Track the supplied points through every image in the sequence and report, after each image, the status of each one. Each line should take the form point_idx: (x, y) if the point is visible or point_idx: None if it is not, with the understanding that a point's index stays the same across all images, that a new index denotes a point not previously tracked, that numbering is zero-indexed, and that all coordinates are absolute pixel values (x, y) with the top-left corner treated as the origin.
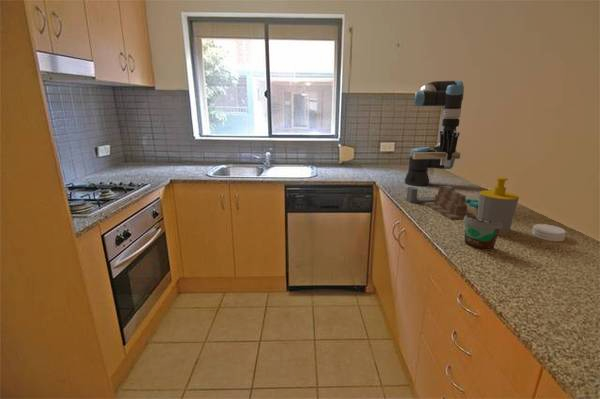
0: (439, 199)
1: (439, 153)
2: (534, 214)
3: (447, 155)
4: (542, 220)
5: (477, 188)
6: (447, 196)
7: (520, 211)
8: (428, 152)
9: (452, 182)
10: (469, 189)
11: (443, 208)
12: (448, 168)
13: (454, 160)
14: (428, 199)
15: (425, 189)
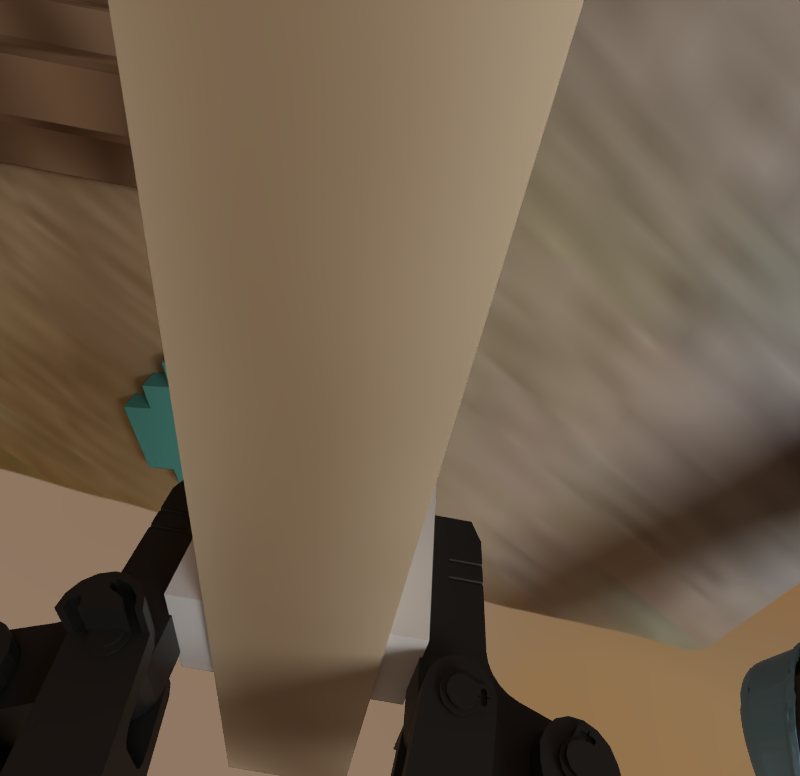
0: None
1: (194, 459)
2: (97, 488)
3: (192, 560)
4: (9, 450)
5: (559, 608)
6: (46, 47)
7: (140, 476)
8: (468, 69)
9: (745, 609)
10: (565, 571)
11: (107, 3)
12: (766, 660)
13: (749, 755)
14: None
15: (753, 355)
